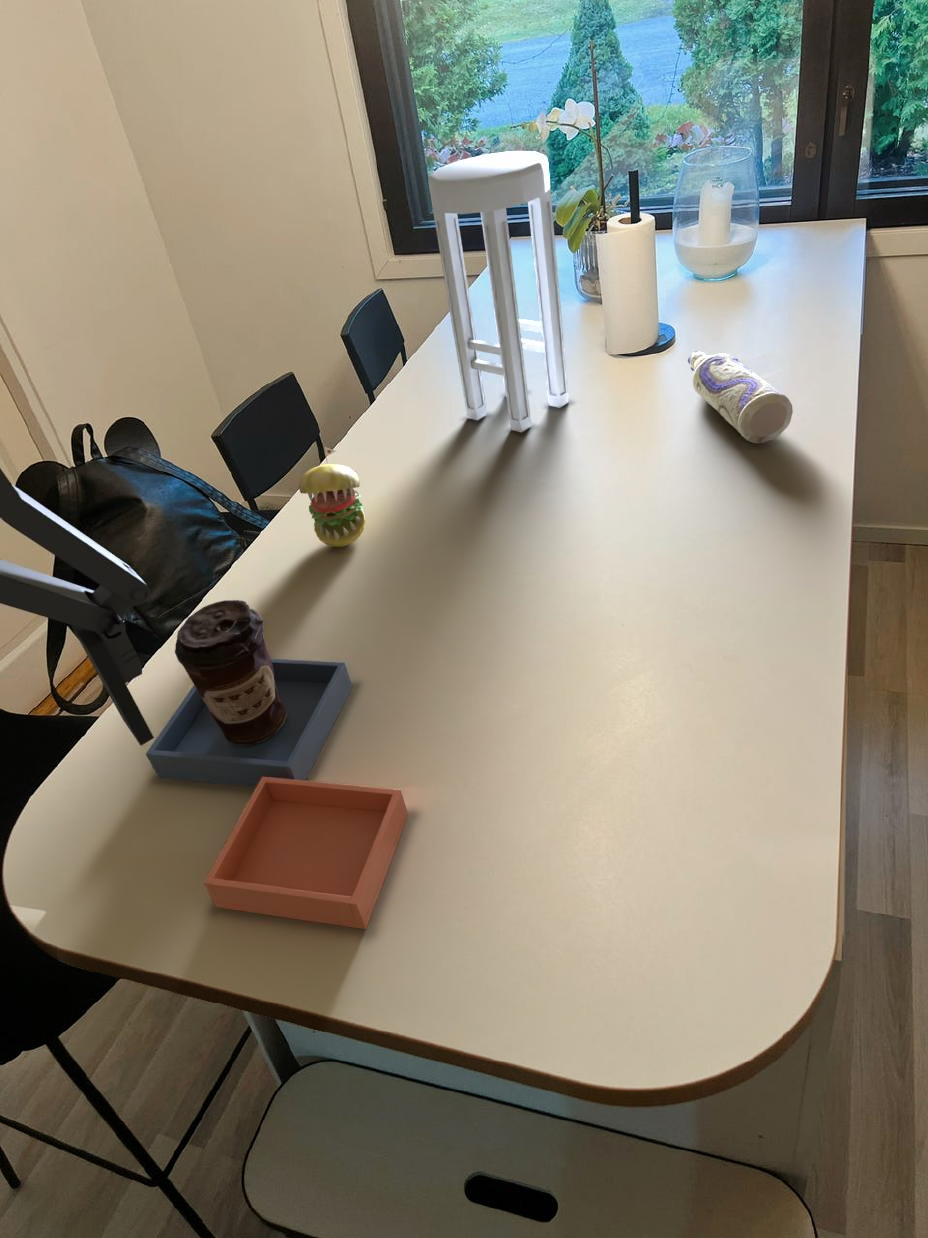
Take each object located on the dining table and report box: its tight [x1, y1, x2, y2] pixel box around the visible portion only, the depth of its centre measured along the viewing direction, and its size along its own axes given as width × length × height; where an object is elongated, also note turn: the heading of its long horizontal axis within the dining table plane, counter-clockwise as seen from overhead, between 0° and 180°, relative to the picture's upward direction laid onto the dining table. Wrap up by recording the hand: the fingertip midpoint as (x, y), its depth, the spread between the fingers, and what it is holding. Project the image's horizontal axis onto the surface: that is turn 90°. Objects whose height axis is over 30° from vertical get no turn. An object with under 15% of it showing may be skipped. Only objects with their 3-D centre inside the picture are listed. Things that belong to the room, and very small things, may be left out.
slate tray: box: [145, 658, 353, 788], centre depth 86 cm, size 15×14×3 cm
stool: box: [427, 150, 570, 433], centre depth 126 cm, size 16×16×35 cm
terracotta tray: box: [203, 777, 409, 930], centre depth 72 cm, size 13×11×3 cm
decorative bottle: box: [687, 350, 794, 444], centre depth 124 cm, size 26×8×7 cm, turn 10°
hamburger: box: [298, 446, 366, 548], centre depth 111 cm, size 8×7×12 cm
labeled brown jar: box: [174, 599, 287, 746], centre depth 83 cm, size 9×8×13 cm
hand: (9, 801), depth 43 cm, fingers open, 13 cm apart
